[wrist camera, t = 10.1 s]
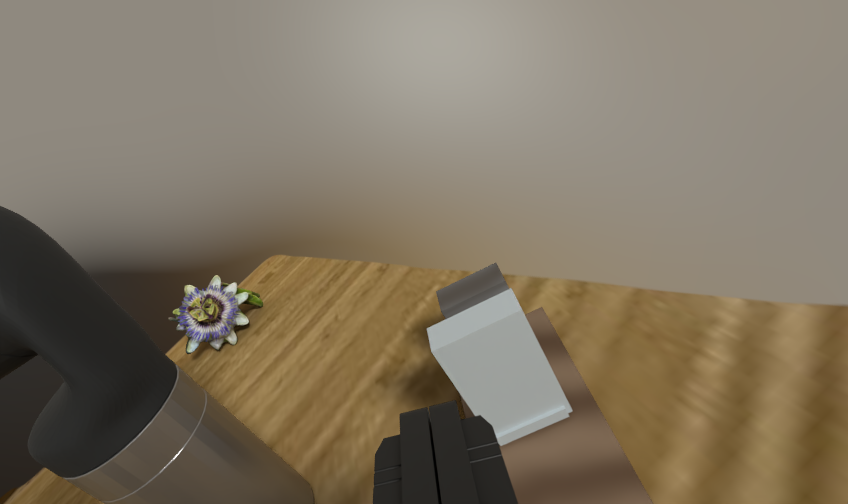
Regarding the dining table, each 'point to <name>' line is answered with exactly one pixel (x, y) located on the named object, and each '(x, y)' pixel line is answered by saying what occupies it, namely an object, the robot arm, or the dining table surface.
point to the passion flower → (213, 313)
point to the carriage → (499, 367)
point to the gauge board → (564, 440)
